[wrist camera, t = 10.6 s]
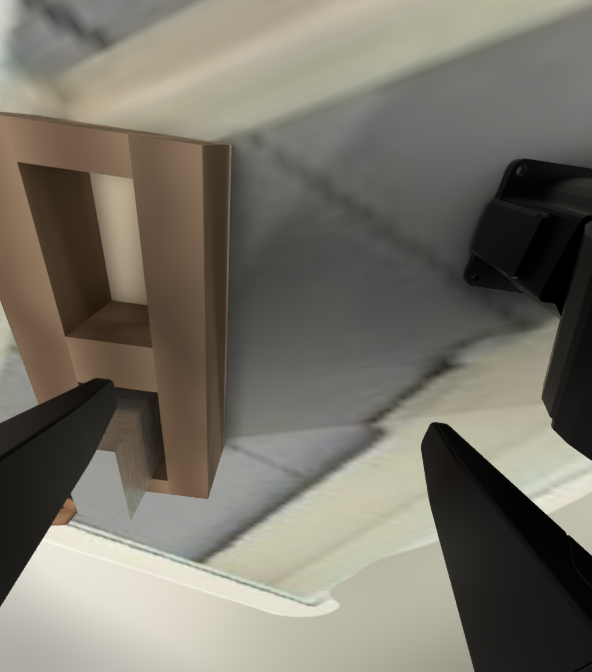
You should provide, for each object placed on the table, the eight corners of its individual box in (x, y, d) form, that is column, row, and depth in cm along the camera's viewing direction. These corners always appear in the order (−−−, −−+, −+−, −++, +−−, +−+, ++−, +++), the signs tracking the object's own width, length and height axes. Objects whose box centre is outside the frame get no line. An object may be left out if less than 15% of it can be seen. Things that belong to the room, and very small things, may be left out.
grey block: (175, 358, 23) (114, 452, 16) (179, 420, 26) (130, 521, 19) (132, 352, 23) (52, 444, 16) (141, 415, 26) (78, 514, 19)
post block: (231, 144, 16) (202, 145, 12) (224, 443, 28) (207, 499, 23) (31, 114, 16) (-73, 104, 12) (106, 428, 27) (67, 481, 23)
